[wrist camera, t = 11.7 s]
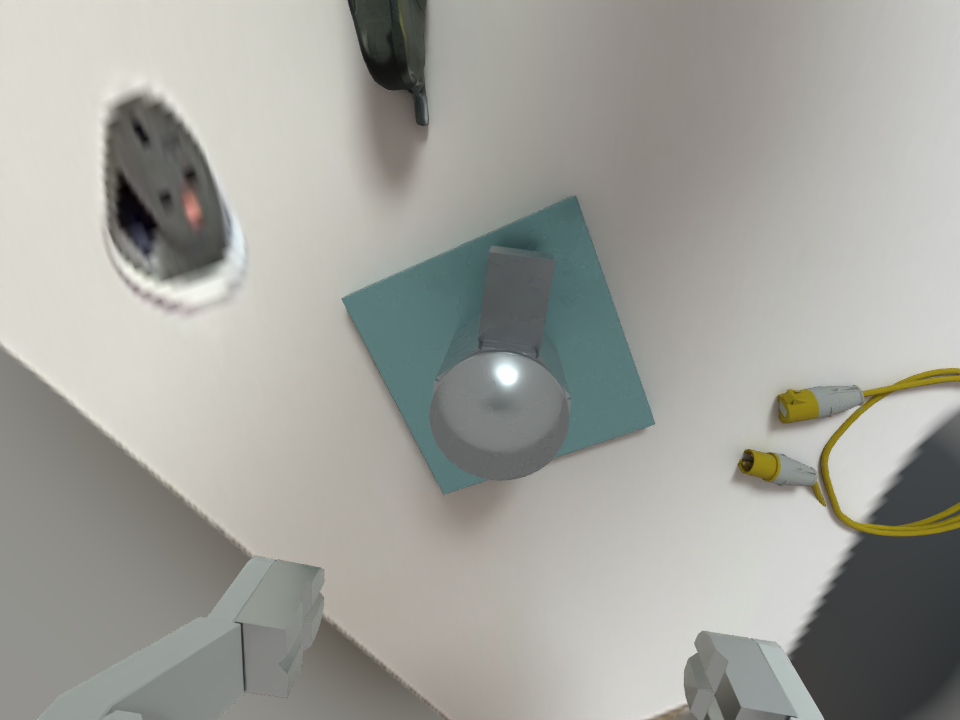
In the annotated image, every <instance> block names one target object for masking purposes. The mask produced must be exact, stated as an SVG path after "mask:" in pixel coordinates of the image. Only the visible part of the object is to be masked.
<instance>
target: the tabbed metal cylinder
mask: <svg viewBox="0 0 960 720" xmlns="http://www.w3.org/2000/svg"><path fill="white" fill-rule="evenodd" d="M555 263H556V260H555V259H554V257H553V256H552V254H551V253H545V252H538V251H530V250H523V249H515V248H508V247H501V246H493V245H492V246H491V248H490V250H489V255H488V262H487V270H486V278H485V286H484V293H483V301H482V309H481V315H479V316H478V317H477V318H475V319H474V320H473V321H471V322H470V323H468V324H467V325H466V326H464V327H463V328H462V329H460V330H459V331H458V332H456V333H455V335H454V337H453V339H452V341H451V344H450V346H449V348H448V350H447V353H446V355H445V357H444V360H443V362H442V364H441V367H440V369H439V371H438V374H437V376H436V378H435V381H434V390H433V398H432V401H431V406H430V428H431V431H432V434H433V437H434V439H435V441H436V443H437V445H438V447H439V448H440V450H441V451H442V453H443V454H444V455H445V456H446V457H447V458H448V459H449V460H450V461H451V462H452V463H453V464H454V465H456V466H457V467H458V468H460V469H462V470H463V471H465V472H467V473H469V474H472V475H474V476H477V477H480V478H485V479H490V480H511V479H517V478H521V477H524V476H527V475H530V474H532V473H534V472H536V471H538V470H540V469H541V468H542V467H544V466H545V465H547V464H548V463H549V462H550V461H551V460H552V459H553V458H554V457H555V456H556V454H557V453H558V452H559V450H560V449H561V447H562V445H563V443H564V441H565V439H566V435H567V432H568V426H569V409H570V405H571V396H570V393H569V389H568V386H567V382H566V379H565V375H564V372H563V368H562V365H561V361H560V358H559V354H558V350H557V347H556V346H555V345H554V343H553V342H552V341H551V339H550V338H549V337H548V335H547V334H546V333H545V331H544V326H545V320H546V314H547V309H548V303H549V297H550V292H551V286H552V280H553V275H554V269H555Z"/></svg>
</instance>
